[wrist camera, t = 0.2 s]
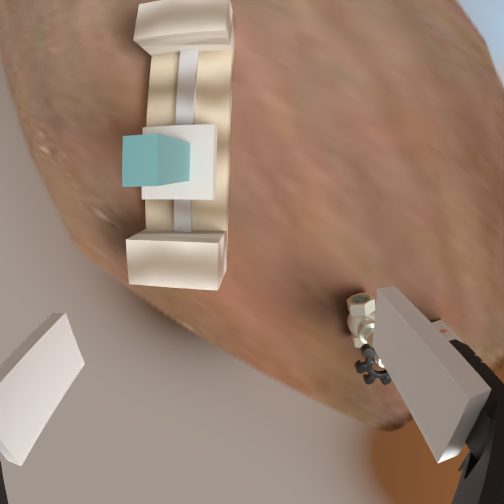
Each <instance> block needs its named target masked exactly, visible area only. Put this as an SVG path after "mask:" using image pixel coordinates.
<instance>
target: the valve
mask: <svg viewBox="0 0 504 504" xmlns="http://www.w3.org/2000/svg"><path fill="white" fill-rule="evenodd" d="M347 307H348V311H349V315H348V319H347V323H348V327H349V329H350V331H351V335H352V341H353V343H354V346H355V347H357V348H360V350H361V352H362V354H363V356H364V357H366V359H365V362H360V360H359V361H357V362H356V363H355V368H356V370H357V372H358V373H363V372H365V371H367V372H368V375H366V374H364V375H363V378H364V381H365V383H366V384H372V383H373V382H374V380H375V378H380V379H381V382H382V384H384V385H386V384H389V383H390V382H391V377H390V375H389V374H388V372H387V370H384V371H376V370H374V369H373V368H372V364H373V363H374V362H376V363H377V364H378V366H381V367H384V365H383V363H382V362H381V360H380V358H379V357H378V355H377V353H376V352H375V350H374V348H373V347H372V343H373V334H374V324H375V313H376V311H375V310H376V309H375V300H374V298H373V296H372V295H371V294H369V293H358V294H355V295H352V296H351V297H349V298H348V299H347Z"/></svg>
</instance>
